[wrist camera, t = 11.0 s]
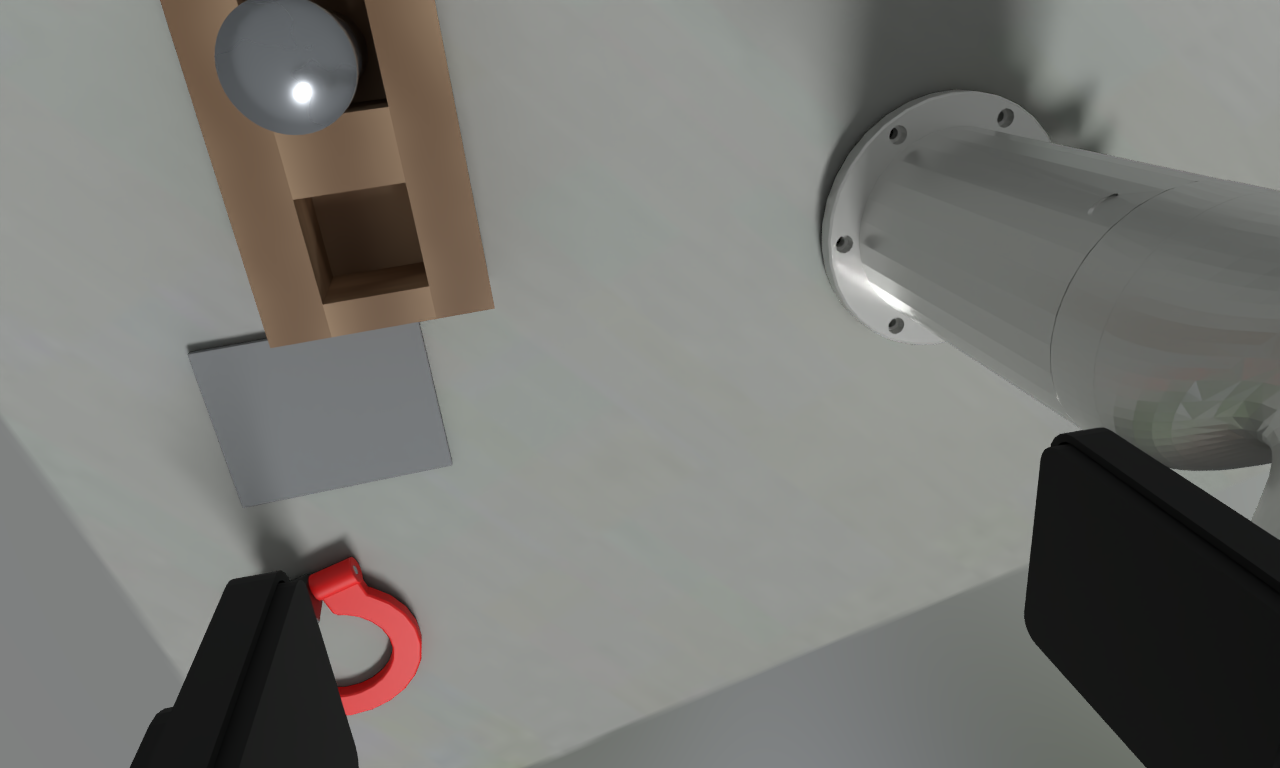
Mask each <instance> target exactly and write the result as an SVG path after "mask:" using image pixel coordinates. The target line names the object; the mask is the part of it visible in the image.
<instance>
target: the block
mask: <svg viewBox="0 0 1280 768" xmlns="http://www.w3.org/2000/svg"><path fill="white" fill-rule="evenodd" d="M160 1H161V5H162V8H163V11H164V14H165V17H166V20H167V24H168V27H169V30H170V33H171V36H172V39H173V42H174V46H175V49H176V52H177V55H178V58H179V61H180V65H181V68H182V71H183V74H184V77H185V80H186V84H187V87H188V90H189V93H190V96H191V99H192V103H193V106H194V109H195V112H196V115H197V118H198V121H199V125H200V128H201V131H202V134H203V137H204V140H205V144H206V147H207V150H208V153H209V156H210V159H211V163H212V166H213V169H214V172H215V175H216V178H217V181H218V185H219V188H220V191H221V194H222V197H223V200H224V204H225V207H226V210H227V213H228V216H229V219H230V223H231V226H232V229H233V232H234V235H235V238H236V241H237V245H238V248H239V251H240V254H241V257H242V260H243V264H244V267H245V270H246V273H247V276H248V279H249V283H250V286H251V289H252V292H253V295H254V298H255V302H256V305H257V308H258V311H259V314H260V317H261V320H262V324H263V327H264V330H265V333H266V336H267V339H268V343H269V346H270V348H275V347H281V346H286V345H292V344H298V343H303V342H309V341H314V340H320V339H326V338H331V337H337V336H342V335H348V334H354V333H359V332H365V331H370V330H376V329H382V328H387V327H393V326H399V325H404V324H410V323H415V322H421V321H427V320H432V319H438V318H443V317H449V316H455V315H460V314H466V313H472V312H477V311H483V310H488V309H494V302H493V297H492V292H491V287H490V282H489V277H488V272H487V267H486V261H485V256H484V251H483V246H482V241H481V236H480V231H479V226H478V220H477V215H476V210H475V205H474V200H473V195H472V190H471V185H470V179H469V174H468V169H467V164H466V159H465V154H464V149H463V144H462V138H461V133H460V128H459V123H458V118H457V113H456V108H455V103H454V97H453V92H452V87H451V82H450V77H449V72H448V67H447V62H446V56H445V51H444V46H443V41H442V36H441V31H440V26H439V21H438V15H437V10H436V5H435V0H309V1H311V2H313V3H315V4H317V5H319V6H320V7H322V8H324V9H327V10H333V11H336V12H339V13H341V14H343V15H345V16H346V17H348V18H349V19H350V20H352V21H353V22H354V23H355V24H356V25H357V27H358V28H359V29H360V31H361V33H362V34H363V36H364V39H365V41H366V45H367V50H368V58H367V64H366V67H365V70H364V72H363V74H362V75H361V77H360V78H359V79H358V84H357V89H356V92H355V95H354V97H353V100H352V101H351V103H350V105H349V107H348V108H347V109H346V110H345V112H344V113H343V114H342V115H341V116H340V117H339V118H338V119H337V120H336V121H335V122H334V123H332V124H331V125H329V126H328V127H326V128H324V129H322V130H320V131H317V132H314V133H310V134H305V135H286V134H281V133H276V132H273V131H270V130H267V129H265V128H263V127H261V126H259V125H257V124H255V123H254V122H252V121H251V120H249V119H248V118H247V117H245V116H244V115H243V114H242V113H241V112H240V111H239V110H238V109H237V108H236V107H235V106H234V105H233V104H232V102H231V101H230V100H229V98H228V97H227V95H226V94H225V92H224V90H223V88H222V86H221V84H220V81H219V78H218V75H217V71H216V67H215V57H214V56H215V43H216V38H217V35H218V32H219V29H220V27H221V25H222V23H223V22H224V20H225V19H226V17H227V16H228V15H229V14H230V13H231V12H232V11H233V10H234V9H235V8H236V7H237V6H239V5H240V4H241V3H243V2H245V1H247V0H160Z"/></svg>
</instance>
